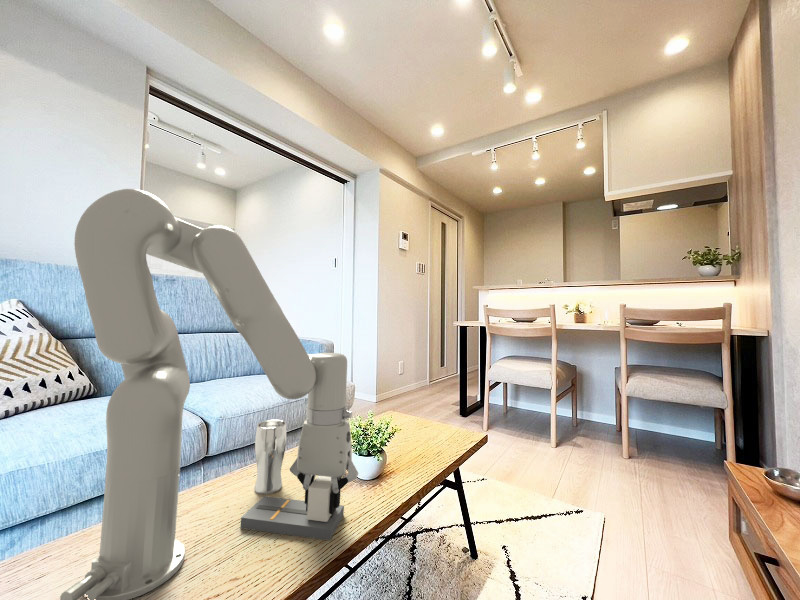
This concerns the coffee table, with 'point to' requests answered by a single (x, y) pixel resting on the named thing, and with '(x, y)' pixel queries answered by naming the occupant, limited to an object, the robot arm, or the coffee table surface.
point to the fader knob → (319, 499)
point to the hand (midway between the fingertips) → (322, 508)
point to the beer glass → (269, 455)
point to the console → (289, 519)
